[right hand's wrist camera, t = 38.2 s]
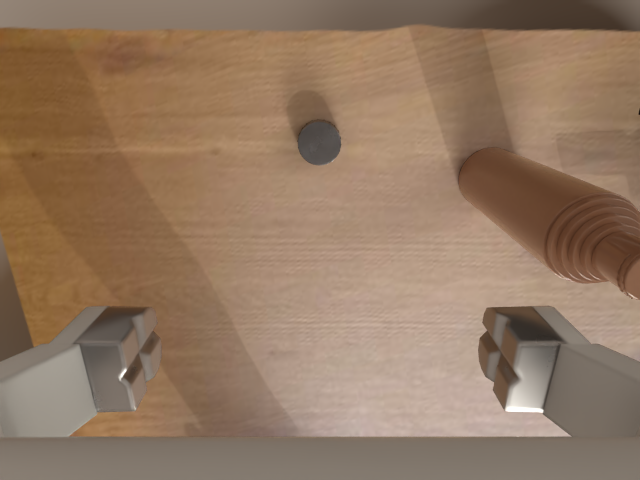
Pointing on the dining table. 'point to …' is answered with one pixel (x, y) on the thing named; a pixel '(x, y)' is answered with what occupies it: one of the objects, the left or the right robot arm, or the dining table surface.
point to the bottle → (557, 218)
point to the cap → (319, 142)
